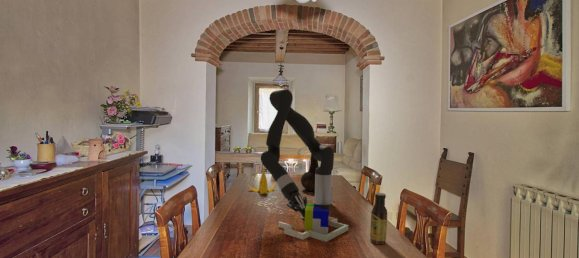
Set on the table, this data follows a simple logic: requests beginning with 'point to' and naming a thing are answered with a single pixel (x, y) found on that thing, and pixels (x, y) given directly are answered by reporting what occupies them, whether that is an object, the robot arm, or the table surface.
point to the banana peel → (263, 185)
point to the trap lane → (332, 222)
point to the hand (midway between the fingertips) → (307, 217)
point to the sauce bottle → (378, 220)
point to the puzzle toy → (317, 218)
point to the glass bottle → (310, 175)
